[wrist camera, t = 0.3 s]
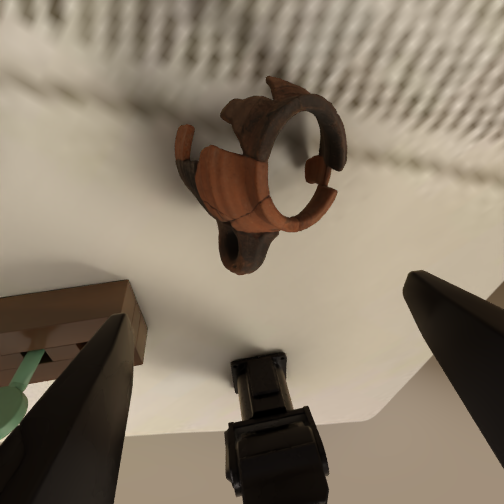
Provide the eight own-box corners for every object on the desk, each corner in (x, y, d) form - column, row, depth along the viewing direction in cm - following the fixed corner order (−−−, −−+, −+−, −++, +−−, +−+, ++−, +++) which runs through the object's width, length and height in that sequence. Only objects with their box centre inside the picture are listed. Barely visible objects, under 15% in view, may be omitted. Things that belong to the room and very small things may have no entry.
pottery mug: (162, 70, 18) (248, 53, 12) (279, 96, 24) (375, 93, 18) (162, 259, 22) (226, 313, 17) (261, 242, 28) (335, 278, 22)
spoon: (71, 321, 28) (12, 443, 20) (30, 325, 28) (-46, 450, 20) (66, 312, 27) (3, 436, 19) (24, 317, 27) (-57, 443, 19)
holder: (147, 328, 30) (143, 364, 27) (-14, 354, 29) (-39, 396, 26) (128, 279, 26) (120, 314, 23) (-61, 306, 25) (-97, 348, 22)
